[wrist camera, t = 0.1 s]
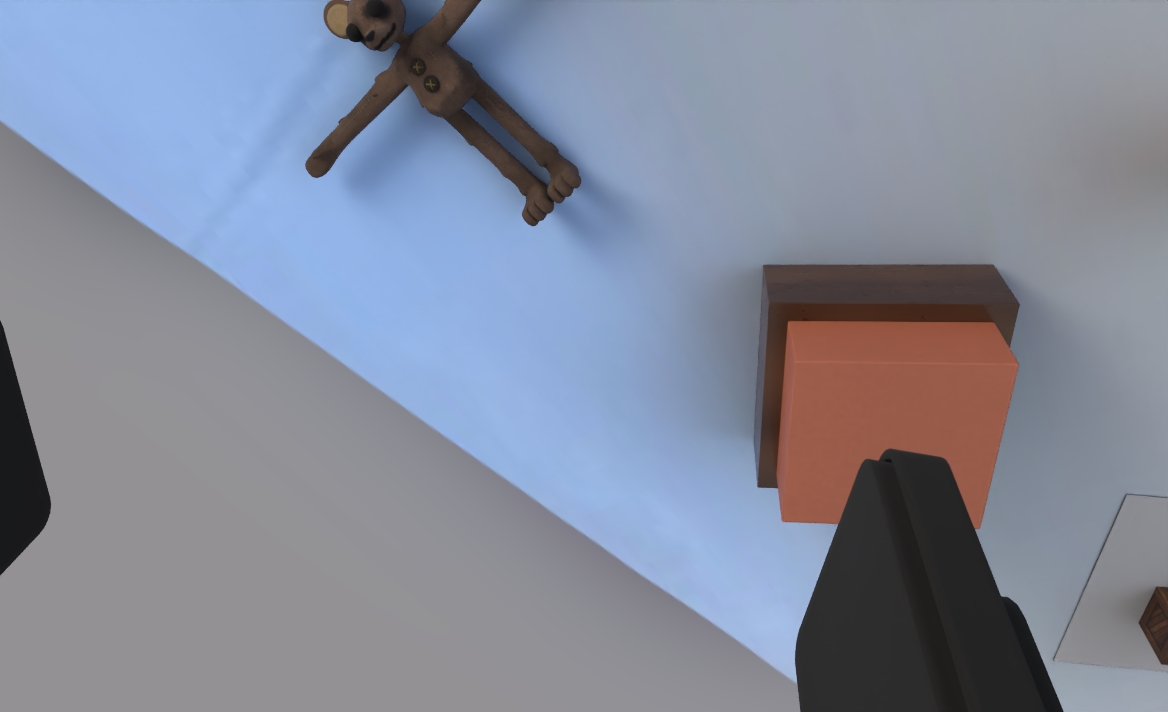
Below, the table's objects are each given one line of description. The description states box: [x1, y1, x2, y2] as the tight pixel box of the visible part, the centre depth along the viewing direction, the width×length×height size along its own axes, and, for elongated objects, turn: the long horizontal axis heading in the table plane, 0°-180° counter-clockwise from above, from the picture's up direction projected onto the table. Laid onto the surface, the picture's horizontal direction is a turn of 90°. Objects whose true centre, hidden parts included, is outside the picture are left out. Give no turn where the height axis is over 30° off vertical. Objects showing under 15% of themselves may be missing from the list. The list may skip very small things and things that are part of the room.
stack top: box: [776, 321, 1019, 529], centre depth 44 cm, size 10×10×4 cm
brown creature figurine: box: [305, 0, 581, 226], centre depth 43 cm, size 18×4×14 cm
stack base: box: [754, 265, 1020, 488], centre depth 48 cm, size 12×12×4 cm
